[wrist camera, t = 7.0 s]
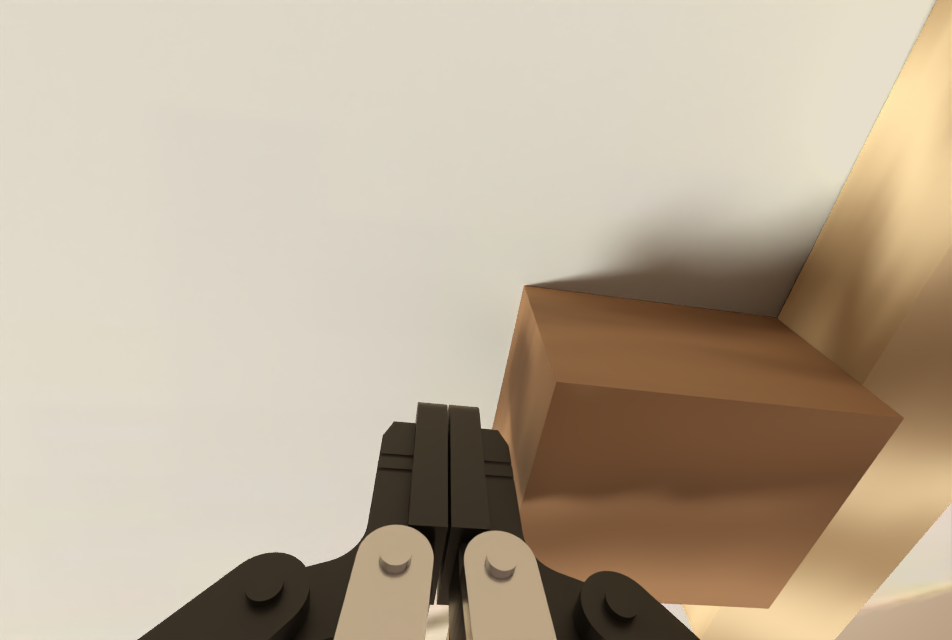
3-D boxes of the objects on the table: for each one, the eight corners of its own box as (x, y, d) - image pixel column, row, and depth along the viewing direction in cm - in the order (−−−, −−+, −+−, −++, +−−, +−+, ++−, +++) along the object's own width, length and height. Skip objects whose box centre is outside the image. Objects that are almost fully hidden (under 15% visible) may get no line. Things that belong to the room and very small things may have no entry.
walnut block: (523, 282, 14) (556, 382, 10) (772, 314, 15) (904, 418, 11) (484, 460, 18) (495, 595, 13) (692, 477, 18) (768, 608, 14)
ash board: (1081, -289, 9) (1405, -468, 6) (1291, -223, 10) (1682, -354, 7) (659, 553, 20) (698, 642, 17) (770, 560, 21) (827, 647, 18)
